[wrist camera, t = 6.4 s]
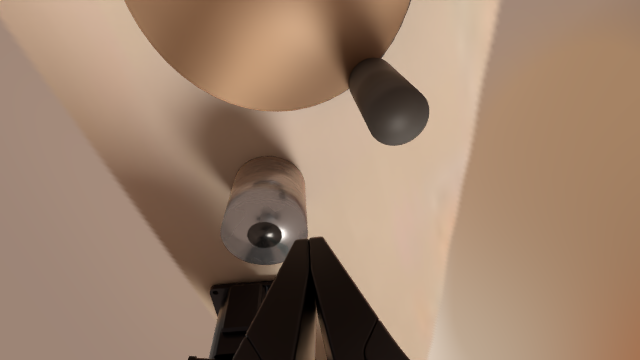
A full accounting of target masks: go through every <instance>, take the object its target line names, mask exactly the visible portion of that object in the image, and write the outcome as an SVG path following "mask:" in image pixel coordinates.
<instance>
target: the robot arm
mask: <svg viewBox="0 0 640 360" xmlns="http://www.w3.org/2000/svg"><path fill="white" fill-rule="evenodd" d="M210 295H211V298H212V301H213V304H214V307H215V310H216V313H217V316H218V319H217V324H216V328H215V333H214V337H213V342H212V346H211V351H210V355H209V359H204V358H197V357H196V356H189V358H188V360H315V350H316V313H318V318H319V323H320V328H321V332H322V337H323V342H324V346H325V351H326V356H327V360H410V359H409V358H408V357H407V356H406V355H405V353H404V352H403V351H402V350H401V349H400V347H399V346H398V344H397V343H396V342H395V340H394V339H393V338H392V336H391V335H390V334H389V332H388V331H387V329H386V328H385V326H384V325H383V323H382V322H381V321H380V320H379V318H378V316H377V315H376V314H375V312H374V311H373V309H372V308H371V306H370V305H369V303H368V302H367V300H366V299H365V298H364V296H363V295H362V293H361V292H360V290H359V289H358V287H357V286H356V284H355V283H354V281H353V280H352V279H351V277H350V276H349V274H348V273H347V271H346V270H345V268H344V267H343V265H342V264H341V263H340V261H339V260H338V258H337V257H336V255H335V254H334V252H333V251H332V249H331V248H330V247H329V245H328V244H327V242H326V241H325V239H324V238H323V237H313V238H310V239H307V238H305V239H297V240H295V241H294V243H293V245H292V247H291V248H290V250H289V252H288V254H287V256H286V258H285V260H284V262H283V264H282V266H281V268H280V270H279V272H278V273H277V275H276V277H275V279H274V281H266V282H252V283H238V284H225V285H214V286H212V287H211V289H210ZM316 307H317V312H316Z"/></svg>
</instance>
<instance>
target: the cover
mask: <svg viewBox="0 0 640 360" xmlns="http://www.w3.org/2000/svg"><path fill="white" fill-rule="evenodd" d="M307 237H308V230H307V212H306V195H305V182H304V178H303V176H302V174H301V172H300V171H299V170H298V168H297V167H296V166H294V165H293V164H292V163H290V162H289V161H287V160H284V159H282V158H278V157H272V156H265V157H258V158H255V159H252V160H250V161H248V162H247V163H245V164H244V165H243V166H242V167H241V168H240V169H239V170H238V172H237V174H236V177H235V180H234V183H233V187H232V190H231V194H230V197H229V201H228V204H227V208H226V211H225V215H224V218H223V222H222V225H221V239H222V241H223V243H224V245H225V247H226V248H227V249H228V250H229V251H230V252H231V253H232V254H233V255H234V256H236V257H237V258H239V259H241V260H243V261H246V262H249V263H253V264H259V265H272V264H278V263H282V262H284V260H285V258H286V256H287V254H288V252H289V250H290V248H291V247H292V245H293V243H294V241H295V240H297V239H305V238H307Z"/></svg>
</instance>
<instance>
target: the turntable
mask: <svg viewBox="0 0 640 360" xmlns="http://www.w3.org/2000/svg"><path fill="white" fill-rule="evenodd" d="M409 2H410V0H125V3H126V5H127V7H128V9H129V11H130V12H131V14H132V16H133V18H134V19H135V21H136V23H137V24H138V26H139V28H140V29H141V31H142V32H143V33H144V35H145V36H146V38H147V39H148V40H149V42H150V43H151V44H152V46H153V47H154V48H155V49H156V50H157V52H158V53H159V54H160V55H161V56H162V57H163V58H164V59H165V60H166V61H167V63H169V64H170V65H171V66H172V67H173V68H174V69H175V70H176V71H177V72H179V73H180V74H181V75H182V76H183V77H184V78H186V79H187V80H189V81H190V82H191V83H193V84H194V85H195V86H197V87H198V88H200V89H202V90H204V91H205V92H207V93H209V94H211V95H212V96H214V97H217V98H219V99H221V100H224V101H226V102H228V103H231V104H234V105H238V106H241V107H244V108H249V109H255V110H260V111H277V112H279V111H292V110H298V109H303V108H308V107H311V106H314V105H317V104H320V103H323V102H325V101H327V100H329V99H331V98H334V97H336V96H338V95H339V94H341V93H342V92H344V91H346V90H347V89H350V92H351V94H352V96H353V98H354V100H355V102H356V104H357V106H358V108H359V110H360V112H361V114H362V116H363V118H364V120H365V122H366V124H367V126H368V128H369V130H370V132H371V134H372V136H373V137H374V138H375V139H376V140H377V141H379V142H381V143H383V144H386V145H392V146H395V145H402V144H405V143H407V142H410V141H411V140H413V139H414V138H416V137H417V136H418V135H419V134H420V133H421V132H422V130H423V129H424V128H425V126H426V124H427V121H428V118H429V106H428V102H427V100H426V98H425V97H424V96H423V95H422V94H421V93H420V92H419V91H418V90H417V89H416V88H415V87H414V86H413V85H412V84H410V83H409V82H408V81H407V80H406V79H405V78H404V77H403V76H402V75H401V74H399V73H398V72H397V71H396V70H395V69H394V68H393V67H392V66H391V65H390V64H388V63H387V62H386V61H385V60H383V59H380V58H381V57H382V55H383V54H384V53H385V51H386V50H387V49H388V47H389V45H390V44H391V42H392V40H393V39H394V37H395V35H396V33H397V32H398V30H399V28H400V25H401V23H402V21H403V18H404V16H405V14H406V12H407V8H408V5H409Z"/></svg>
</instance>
